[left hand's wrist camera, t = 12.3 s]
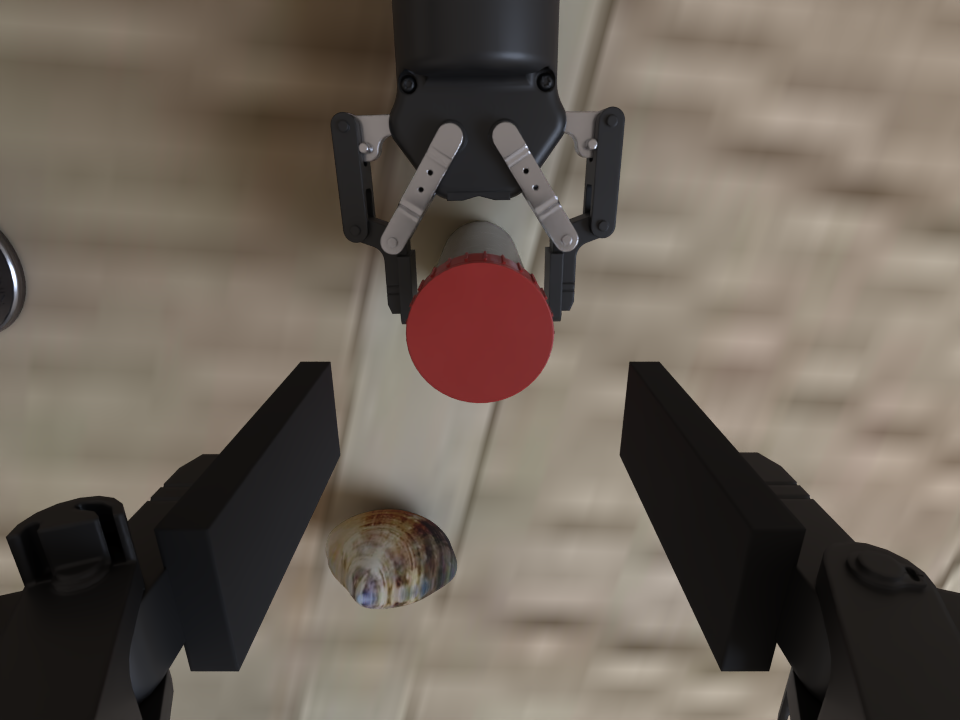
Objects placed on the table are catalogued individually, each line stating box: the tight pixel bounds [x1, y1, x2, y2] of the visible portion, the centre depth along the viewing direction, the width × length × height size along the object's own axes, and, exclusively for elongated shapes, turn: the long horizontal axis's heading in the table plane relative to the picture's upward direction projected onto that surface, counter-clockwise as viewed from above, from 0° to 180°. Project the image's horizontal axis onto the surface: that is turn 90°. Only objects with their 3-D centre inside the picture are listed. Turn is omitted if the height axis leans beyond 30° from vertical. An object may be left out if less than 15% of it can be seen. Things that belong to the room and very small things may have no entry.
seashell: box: [325, 509, 457, 609], centre depth 38 cm, size 10×6×8 cm, turn 83°
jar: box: [436, 221, 524, 268], centre depth 27 cm, size 5×5×16 cm
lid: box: [406, 251, 554, 403], centre depth 21 cm, size 6×6×2 cm
